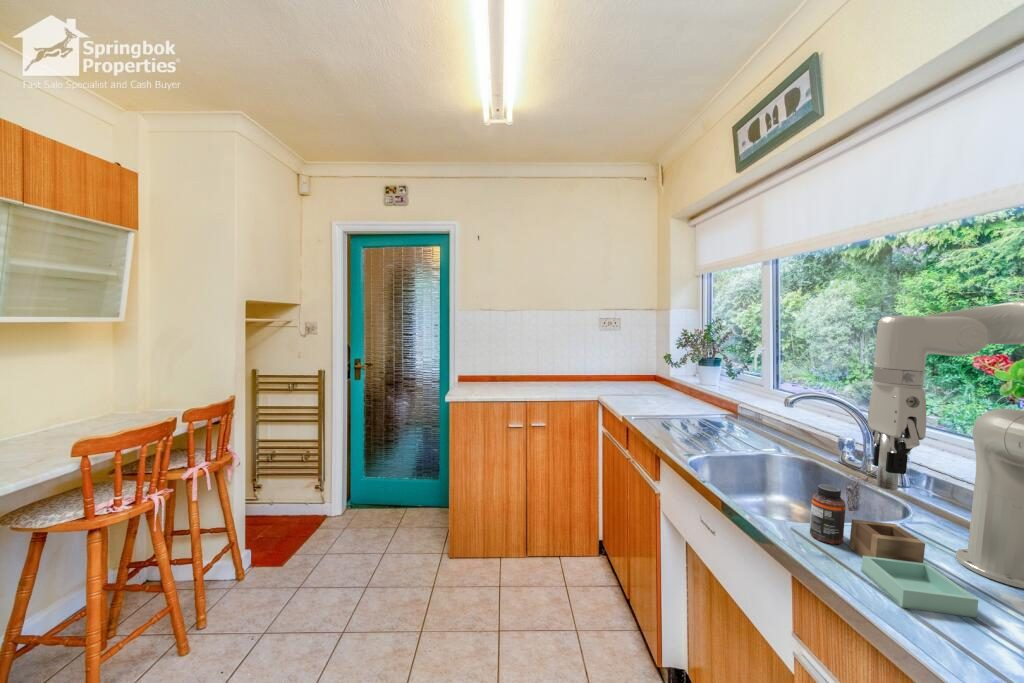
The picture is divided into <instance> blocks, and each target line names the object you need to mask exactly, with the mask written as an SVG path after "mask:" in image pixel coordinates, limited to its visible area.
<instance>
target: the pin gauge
mask: <svg viewBox="0 0 1024 683" xmlns="http://www.w3.org/2000/svg"><path fill="white" fill-rule="evenodd" d="M903 436H904V435H903V434H902V436H900V437H903ZM900 442H903V441H899V440H897V444H898V443H900ZM887 452H890V436H888V435H886V434H884V433H881V439H880V449H879V460H878V466H877V472H876V482H875V486H876V487H878V488H881V489H883V490H884V489H885V490H889V491H897V490H898V487H899V486H898V485H899V476H900V474H896V473H888V472H886V470H885V469H886V459H887Z"/></svg>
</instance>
